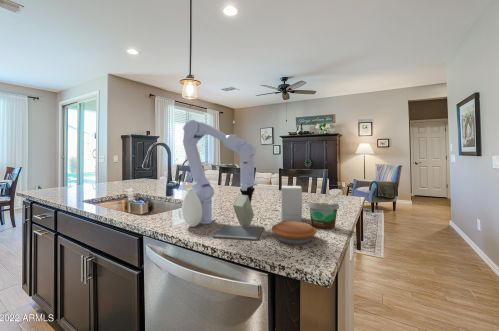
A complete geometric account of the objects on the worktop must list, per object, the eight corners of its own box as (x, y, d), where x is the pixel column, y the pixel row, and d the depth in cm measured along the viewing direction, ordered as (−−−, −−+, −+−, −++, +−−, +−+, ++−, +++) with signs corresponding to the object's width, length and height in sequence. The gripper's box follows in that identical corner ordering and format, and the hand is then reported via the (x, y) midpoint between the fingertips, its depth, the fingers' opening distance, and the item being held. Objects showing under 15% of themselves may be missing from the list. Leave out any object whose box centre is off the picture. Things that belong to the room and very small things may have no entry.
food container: (304, 227, 97) (304, 202, 96) (308, 223, 102) (308, 200, 102) (336, 232, 91) (336, 205, 91) (338, 227, 96) (339, 203, 96)
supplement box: (302, 222, 104) (302, 188, 104) (281, 221, 106) (281, 187, 105) (300, 217, 113) (301, 185, 113) (281, 216, 115) (281, 185, 114)
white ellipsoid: (198, 228, 93) (194, 182, 93) (180, 229, 95) (175, 184, 95) (206, 223, 101) (202, 180, 101) (189, 224, 103) (185, 182, 102)
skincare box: (245, 214, 104) (238, 193, 97) (254, 215, 102) (248, 195, 95) (239, 225, 99) (231, 205, 92) (249, 227, 97) (242, 206, 90)
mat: (212, 237, 85) (212, 236, 85) (224, 225, 99) (224, 224, 99) (257, 240, 82) (257, 238, 82) (263, 227, 96) (263, 226, 96)
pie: (285, 229, 95) (285, 216, 95) (323, 237, 85) (324, 223, 85) (262, 239, 83) (262, 225, 83) (303, 251, 73) (304, 234, 73)
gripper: (254, 174, 91) (254, 209, 92) (259, 171, 106) (259, 202, 106) (236, 174, 93) (236, 209, 93) (243, 171, 107) (243, 202, 107)
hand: (247, 205), depth 100 cm, fingers closed, pressing on skincare box
